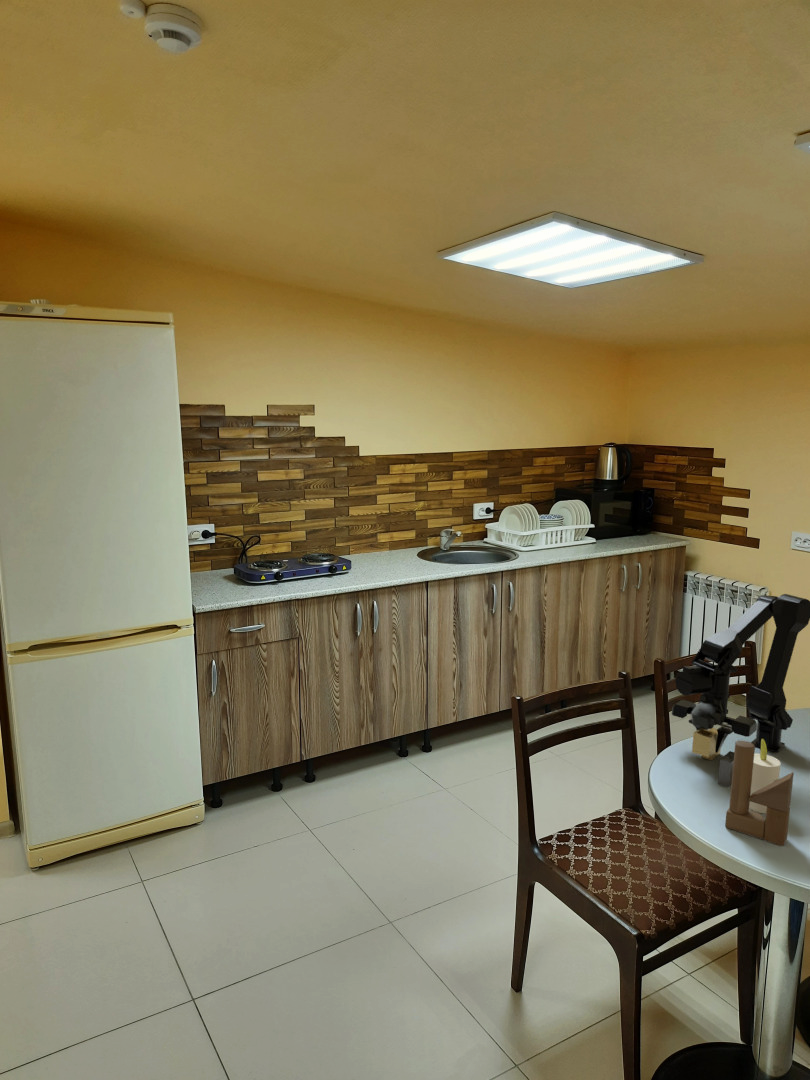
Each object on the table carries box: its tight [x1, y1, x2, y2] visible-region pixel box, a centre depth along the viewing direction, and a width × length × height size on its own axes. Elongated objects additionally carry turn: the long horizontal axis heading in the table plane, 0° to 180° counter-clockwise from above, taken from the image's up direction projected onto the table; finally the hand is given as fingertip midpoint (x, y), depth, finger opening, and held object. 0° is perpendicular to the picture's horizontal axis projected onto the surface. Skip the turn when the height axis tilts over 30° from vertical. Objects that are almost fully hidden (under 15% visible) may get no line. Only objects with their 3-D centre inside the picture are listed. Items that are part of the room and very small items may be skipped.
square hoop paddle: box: [691, 727, 722, 761], centre depth 176 cm, size 10×4×8 cm, turn 136°
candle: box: [749, 739, 782, 815], centre depth 153 cm, size 6×6×15 cm
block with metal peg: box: [717, 741, 737, 788], centre depth 166 cm, size 10×4×8 cm, turn 136°
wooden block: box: [724, 740, 794, 847], centre depth 142 cm, size 4×11×18 cm, turn 52°
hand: (710, 750), depth 178 cm, fingers closed on square hoop paddle, 3 cm apart
